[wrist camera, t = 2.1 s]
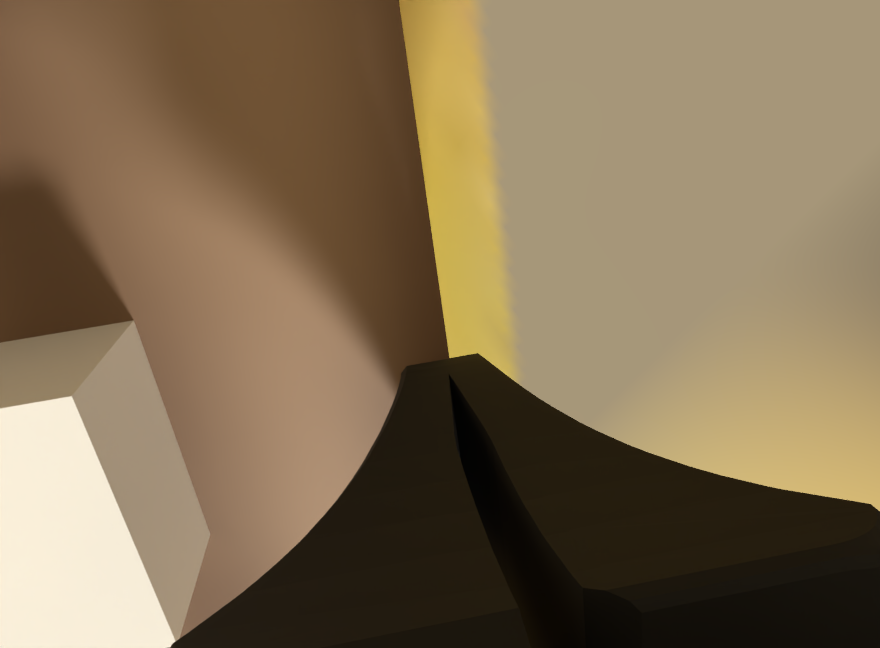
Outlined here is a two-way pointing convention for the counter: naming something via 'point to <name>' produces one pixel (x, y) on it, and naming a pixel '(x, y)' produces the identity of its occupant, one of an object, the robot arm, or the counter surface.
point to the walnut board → (226, 235)
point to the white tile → (92, 497)
